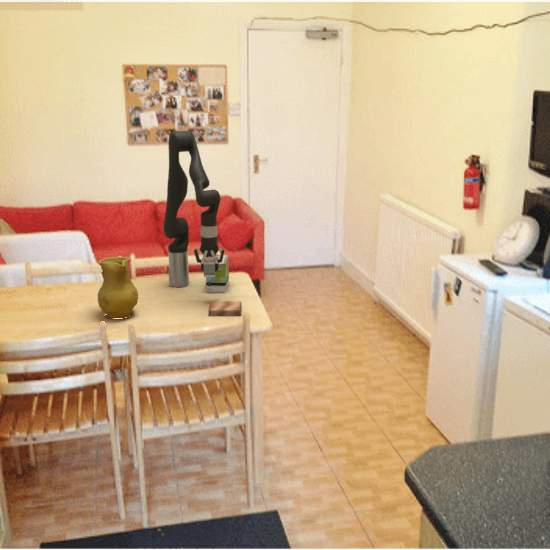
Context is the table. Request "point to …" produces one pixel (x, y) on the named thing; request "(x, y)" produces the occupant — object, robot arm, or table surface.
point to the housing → (209, 267)
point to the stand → (225, 308)
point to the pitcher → (117, 288)
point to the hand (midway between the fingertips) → (209, 270)
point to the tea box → (219, 277)
